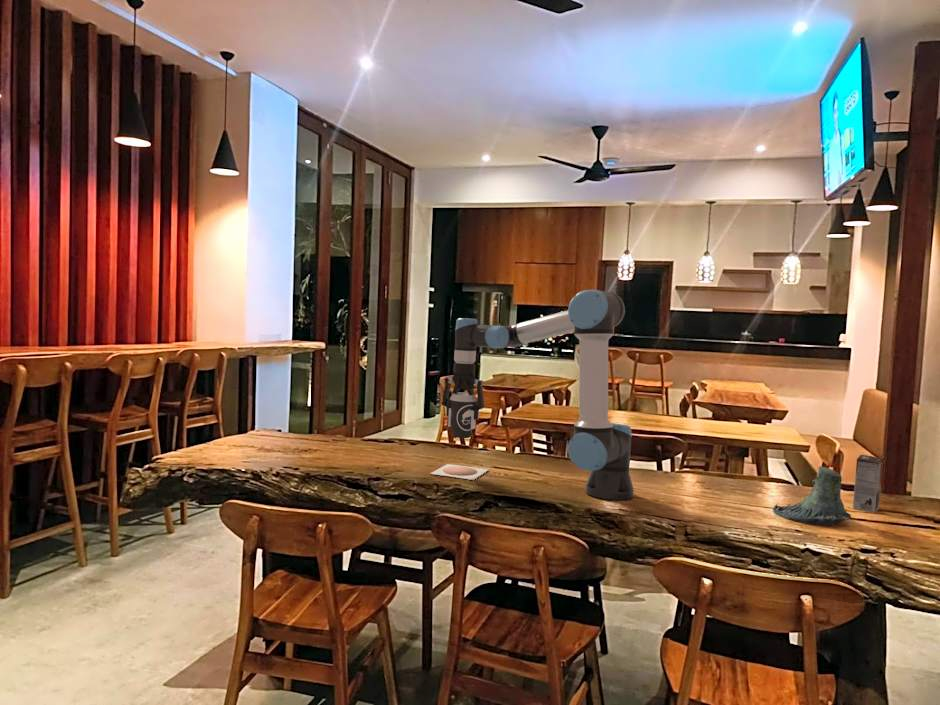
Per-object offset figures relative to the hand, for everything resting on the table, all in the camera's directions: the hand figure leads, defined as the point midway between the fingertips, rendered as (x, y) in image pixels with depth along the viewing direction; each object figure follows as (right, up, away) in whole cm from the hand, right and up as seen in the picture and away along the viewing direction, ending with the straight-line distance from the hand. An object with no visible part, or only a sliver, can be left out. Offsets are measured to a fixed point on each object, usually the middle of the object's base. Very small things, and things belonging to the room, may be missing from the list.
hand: (461, 427), depth 223 cm
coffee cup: (0, -3, 0) cm, 3 cm away
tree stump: (+105, -23, -33) cm, 112 cm away
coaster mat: (-1, -16, +1) cm, 16 cm away
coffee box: (+129, -23, -21) cm, 132 cm away
